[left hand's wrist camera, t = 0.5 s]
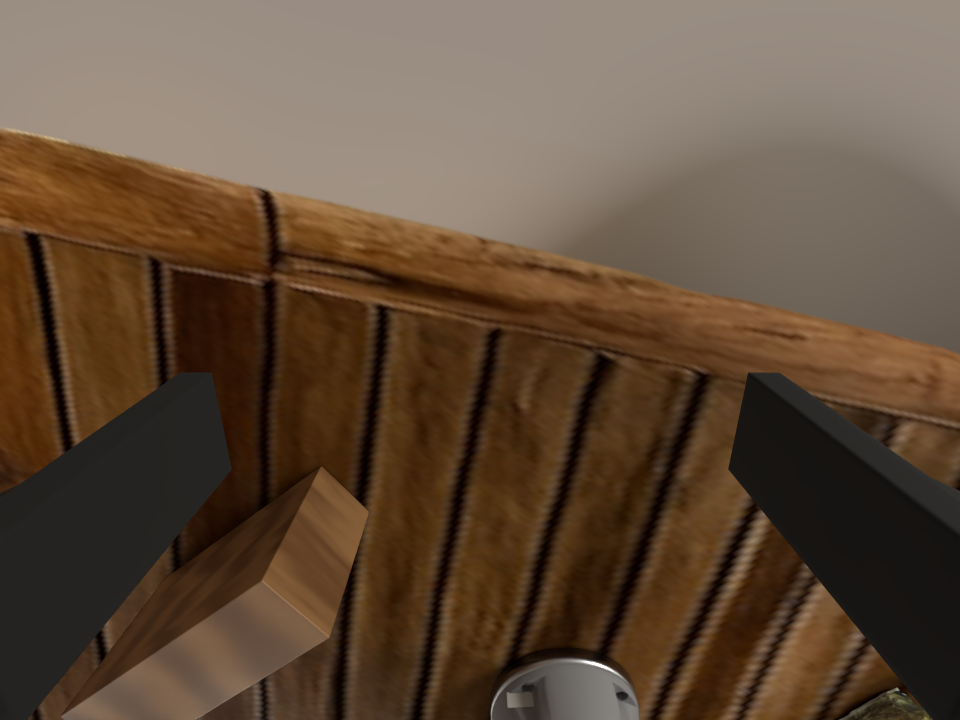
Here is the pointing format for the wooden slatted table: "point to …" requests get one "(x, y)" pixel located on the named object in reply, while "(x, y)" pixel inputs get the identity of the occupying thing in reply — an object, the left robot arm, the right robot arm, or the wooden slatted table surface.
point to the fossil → (889, 708)
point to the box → (233, 610)
